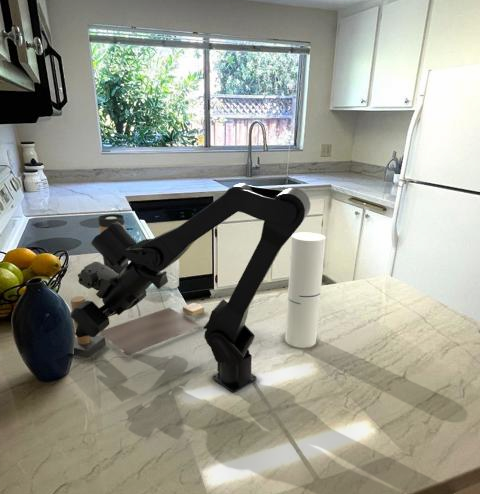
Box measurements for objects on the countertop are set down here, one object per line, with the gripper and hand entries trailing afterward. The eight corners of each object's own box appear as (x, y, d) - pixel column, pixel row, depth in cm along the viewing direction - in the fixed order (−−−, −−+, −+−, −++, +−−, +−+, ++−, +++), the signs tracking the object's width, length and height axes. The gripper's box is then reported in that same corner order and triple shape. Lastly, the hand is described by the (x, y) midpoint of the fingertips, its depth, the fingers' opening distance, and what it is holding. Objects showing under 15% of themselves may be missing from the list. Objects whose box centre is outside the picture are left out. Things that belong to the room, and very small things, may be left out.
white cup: (149, 287, 123) (147, 256, 119) (165, 279, 130) (163, 249, 126) (170, 292, 120) (168, 260, 116) (185, 284, 126) (184, 253, 122)
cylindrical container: (315, 349, 90) (325, 242, 81) (283, 345, 92) (290, 239, 82) (316, 334, 97) (325, 233, 87) (286, 331, 98) (292, 231, 89)
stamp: (106, 348, 90) (99, 295, 85) (88, 362, 85) (79, 306, 80) (84, 344, 92) (76, 291, 87) (65, 357, 87) (55, 302, 82)
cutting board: (201, 329, 98) (201, 325, 98) (128, 360, 86) (127, 355, 85) (169, 311, 108) (169, 307, 107) (98, 336, 95) (97, 331, 95)
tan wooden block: (204, 315, 106) (204, 306, 105) (192, 320, 103) (192, 311, 102) (194, 310, 108) (194, 302, 107) (183, 315, 106) (182, 306, 105)
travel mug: (104, 275, 133) (96, 215, 125) (127, 272, 136) (121, 213, 128) (107, 283, 126) (99, 220, 119) (132, 279, 129) (125, 218, 122)
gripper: (128, 239, 86) (91, 282, 93) (71, 267, 69) (31, 316, 76) (164, 277, 87) (124, 317, 94) (116, 314, 70) (72, 358, 77)
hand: (91, 325), depth 85 cm, fingers open, 9 cm apart
